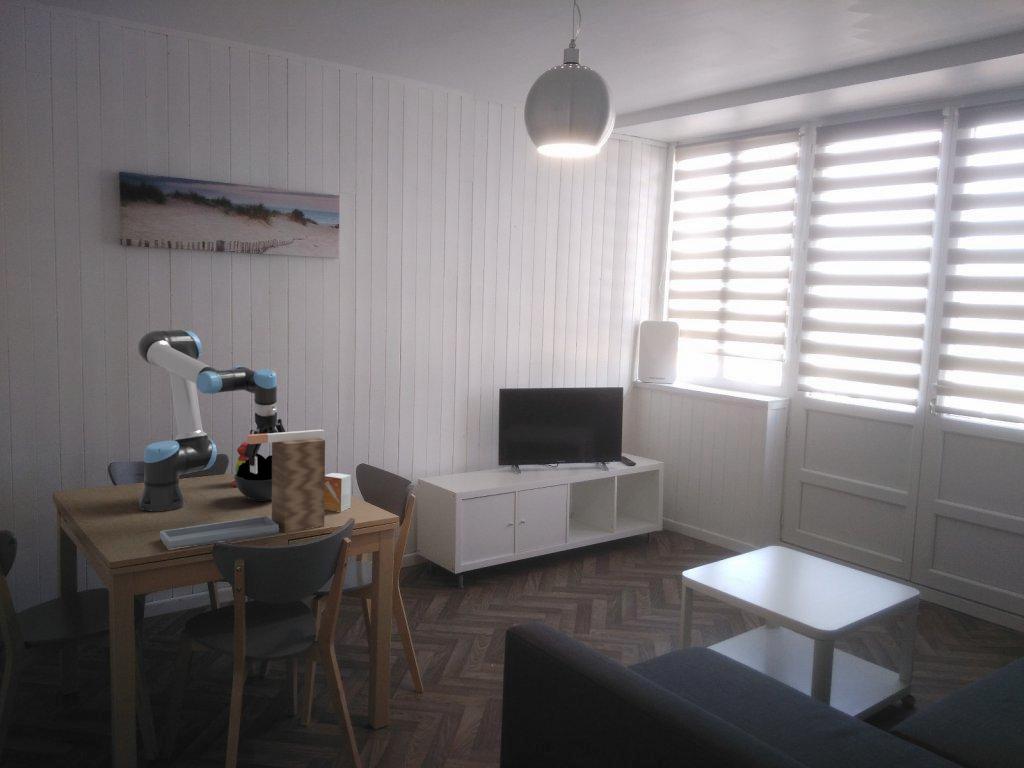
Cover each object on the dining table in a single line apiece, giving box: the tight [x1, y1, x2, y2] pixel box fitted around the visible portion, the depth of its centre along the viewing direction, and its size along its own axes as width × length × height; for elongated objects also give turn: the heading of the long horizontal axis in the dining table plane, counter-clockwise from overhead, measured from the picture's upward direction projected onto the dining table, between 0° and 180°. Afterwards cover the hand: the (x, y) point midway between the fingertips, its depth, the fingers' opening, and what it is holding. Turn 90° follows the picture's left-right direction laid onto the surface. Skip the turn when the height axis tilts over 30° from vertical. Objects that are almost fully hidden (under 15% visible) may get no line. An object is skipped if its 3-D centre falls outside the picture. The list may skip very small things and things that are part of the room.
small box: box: [324, 472, 352, 513], centre depth 284 cm, size 8×6×13 cm
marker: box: [246, 428, 326, 444], centre depth 258 cm, size 26×3×3 cm, turn 127°
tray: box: [159, 515, 280, 549], centre depth 248 cm, size 34×12×3 cm, turn 127°
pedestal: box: [271, 438, 326, 533], centre depth 262 cm, size 14×12×30 cm
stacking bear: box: [230, 441, 249, 487], centre depth 316 cm, size 11×10×18 cm
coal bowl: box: [233, 452, 272, 502], centre depth 293 cm, size 20×20×19 cm
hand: (266, 465), depth 279 cm, fingers open, 13 cm apart
